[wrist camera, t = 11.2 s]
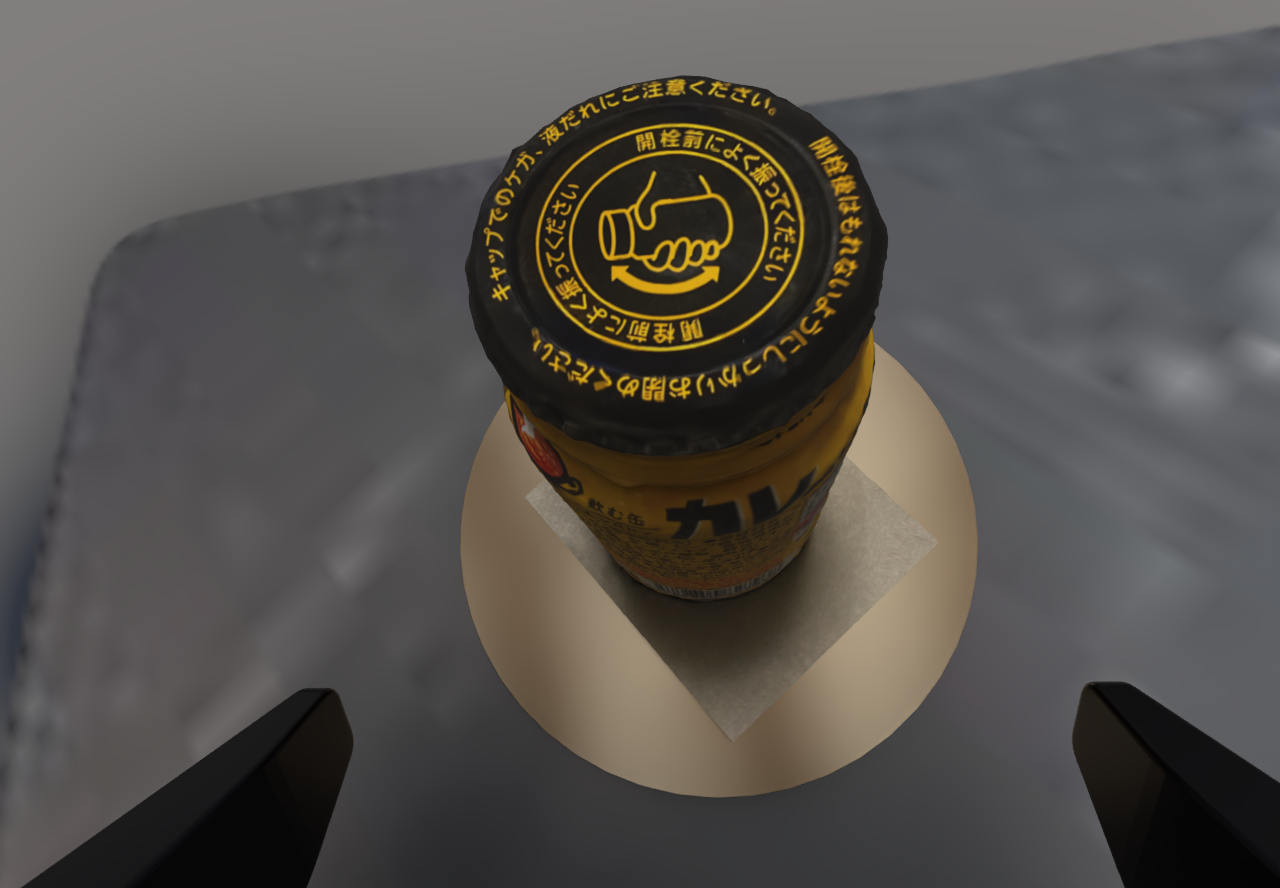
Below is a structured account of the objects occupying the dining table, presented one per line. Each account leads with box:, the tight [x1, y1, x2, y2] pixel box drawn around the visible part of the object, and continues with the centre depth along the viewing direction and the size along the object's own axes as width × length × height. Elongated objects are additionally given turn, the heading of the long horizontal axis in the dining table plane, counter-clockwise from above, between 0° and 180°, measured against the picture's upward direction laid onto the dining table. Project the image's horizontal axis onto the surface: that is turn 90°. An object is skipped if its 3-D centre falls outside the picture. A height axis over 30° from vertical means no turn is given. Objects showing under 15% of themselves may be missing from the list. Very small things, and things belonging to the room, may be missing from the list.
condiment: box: [465, 76, 939, 742], centre depth 14 cm, size 7×8×12 cm
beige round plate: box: [461, 342, 978, 798], centre depth 20 cm, size 14×14×1 cm
